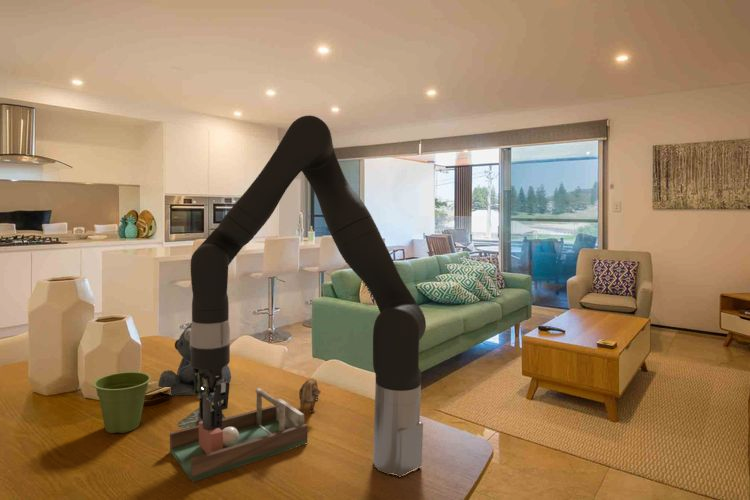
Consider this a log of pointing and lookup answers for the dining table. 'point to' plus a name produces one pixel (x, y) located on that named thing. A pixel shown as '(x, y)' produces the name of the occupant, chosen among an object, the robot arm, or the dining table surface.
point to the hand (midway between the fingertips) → (210, 422)
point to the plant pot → (122, 399)
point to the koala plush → (185, 369)
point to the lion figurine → (309, 394)
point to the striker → (209, 431)
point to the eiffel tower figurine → (192, 420)
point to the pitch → (242, 439)
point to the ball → (230, 436)
